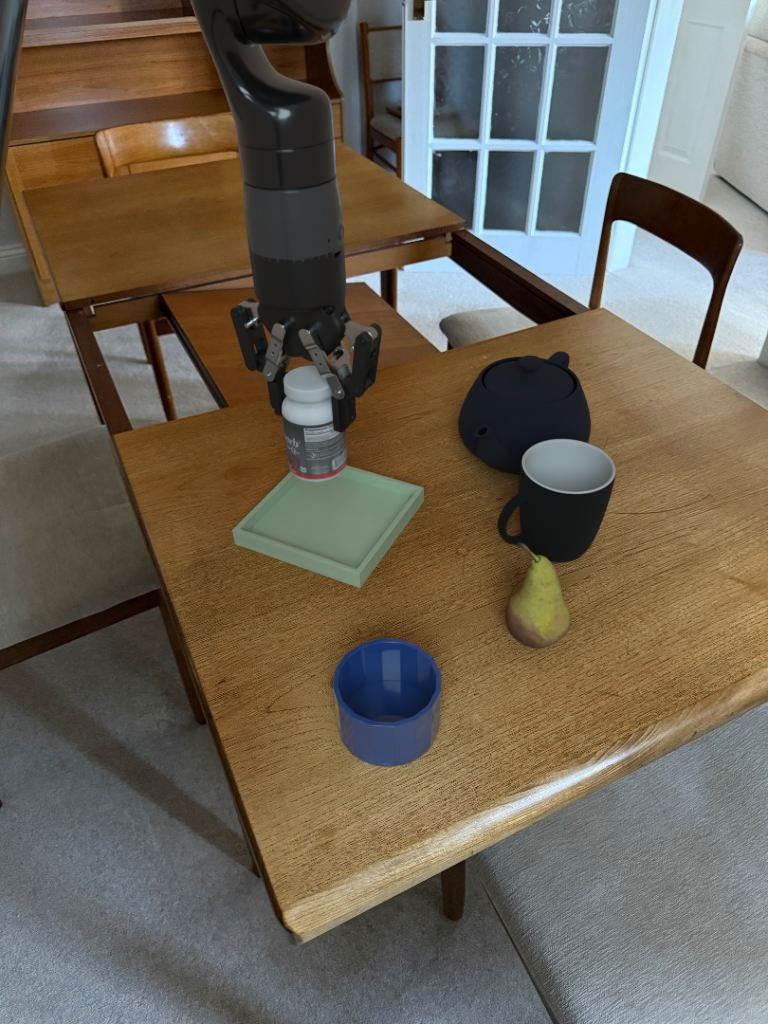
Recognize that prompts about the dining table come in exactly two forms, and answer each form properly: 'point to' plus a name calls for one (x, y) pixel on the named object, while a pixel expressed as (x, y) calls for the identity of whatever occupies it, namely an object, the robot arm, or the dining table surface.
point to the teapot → (522, 409)
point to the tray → (331, 523)
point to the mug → (560, 498)
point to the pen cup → (387, 701)
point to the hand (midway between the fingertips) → (313, 419)
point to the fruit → (538, 606)
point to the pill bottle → (311, 427)
